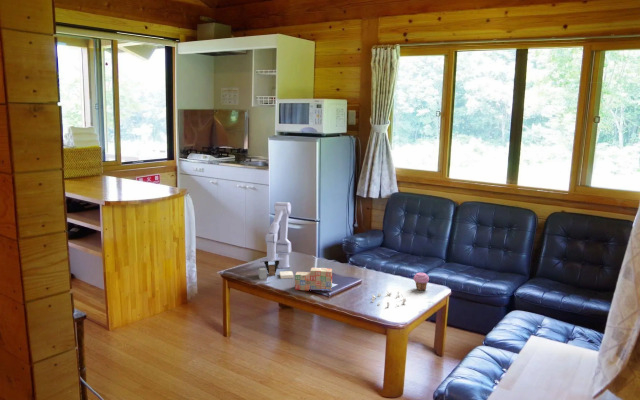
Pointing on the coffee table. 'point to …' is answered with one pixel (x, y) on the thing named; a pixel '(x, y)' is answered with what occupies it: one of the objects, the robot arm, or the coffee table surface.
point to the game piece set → (388, 295)
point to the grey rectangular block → (262, 273)
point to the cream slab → (286, 274)
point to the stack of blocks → (314, 279)
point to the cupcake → (421, 281)
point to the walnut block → (271, 270)
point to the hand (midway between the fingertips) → (271, 272)
